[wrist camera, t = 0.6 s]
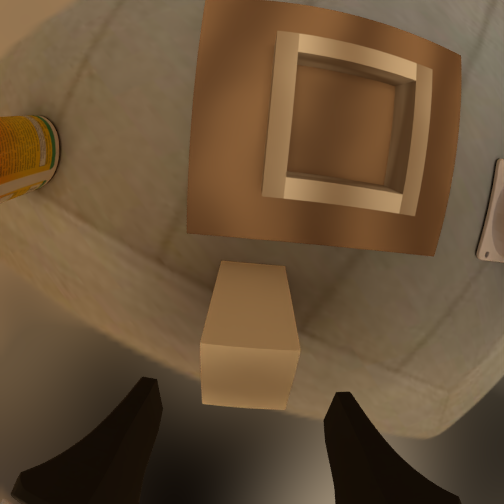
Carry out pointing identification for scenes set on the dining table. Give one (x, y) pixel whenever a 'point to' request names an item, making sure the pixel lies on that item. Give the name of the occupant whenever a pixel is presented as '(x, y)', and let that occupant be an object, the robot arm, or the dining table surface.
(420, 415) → the dining table surface
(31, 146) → the supplement bottle
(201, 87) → the socket board
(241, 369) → the peg
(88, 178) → the dining table surface
